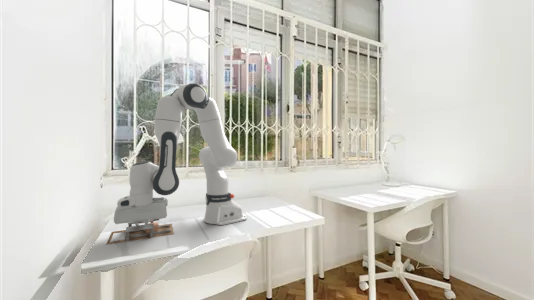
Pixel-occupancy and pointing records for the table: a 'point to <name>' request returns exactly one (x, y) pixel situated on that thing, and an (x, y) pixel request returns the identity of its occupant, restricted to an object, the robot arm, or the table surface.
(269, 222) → the table surface
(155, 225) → the block
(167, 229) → the brown wooden flat frame
